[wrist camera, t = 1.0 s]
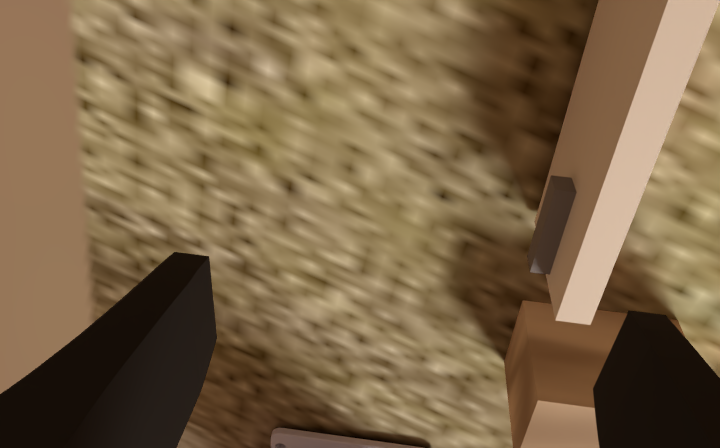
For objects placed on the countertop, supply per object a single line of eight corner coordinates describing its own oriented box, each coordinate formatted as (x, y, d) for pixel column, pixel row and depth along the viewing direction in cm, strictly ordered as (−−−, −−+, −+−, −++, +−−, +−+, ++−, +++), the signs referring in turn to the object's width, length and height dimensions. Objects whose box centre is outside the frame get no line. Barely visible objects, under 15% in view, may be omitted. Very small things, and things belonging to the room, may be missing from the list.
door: (614, -139, 16) (673, -112, 12) (678, -133, 16) (761, -104, 12) (517, 219, 22) (534, 317, 18) (563, 225, 22) (590, 324, 18)
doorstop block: (646, 379, 26) (683, 487, 22) (504, 359, 27) (514, 463, 23) (676, 318, 24) (723, 425, 20) (522, 298, 25) (537, 400, 21)
